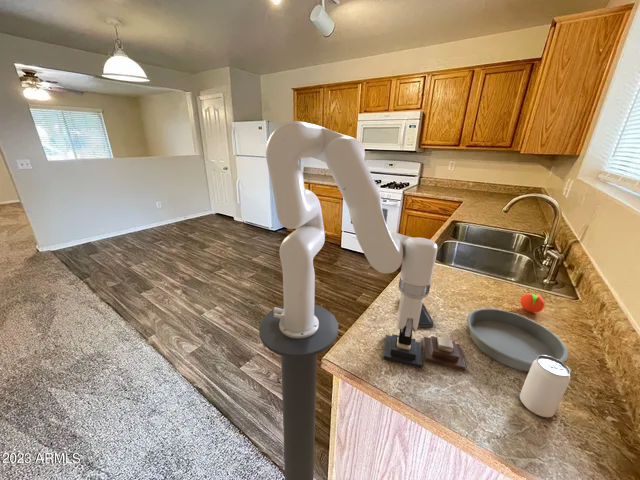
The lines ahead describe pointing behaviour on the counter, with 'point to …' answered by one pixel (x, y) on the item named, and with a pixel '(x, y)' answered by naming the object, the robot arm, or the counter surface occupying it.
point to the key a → (403, 345)
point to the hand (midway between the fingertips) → (404, 342)
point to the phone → (425, 318)
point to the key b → (444, 344)
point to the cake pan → (513, 338)
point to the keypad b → (443, 354)
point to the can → (545, 386)
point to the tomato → (532, 302)
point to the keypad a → (402, 352)
